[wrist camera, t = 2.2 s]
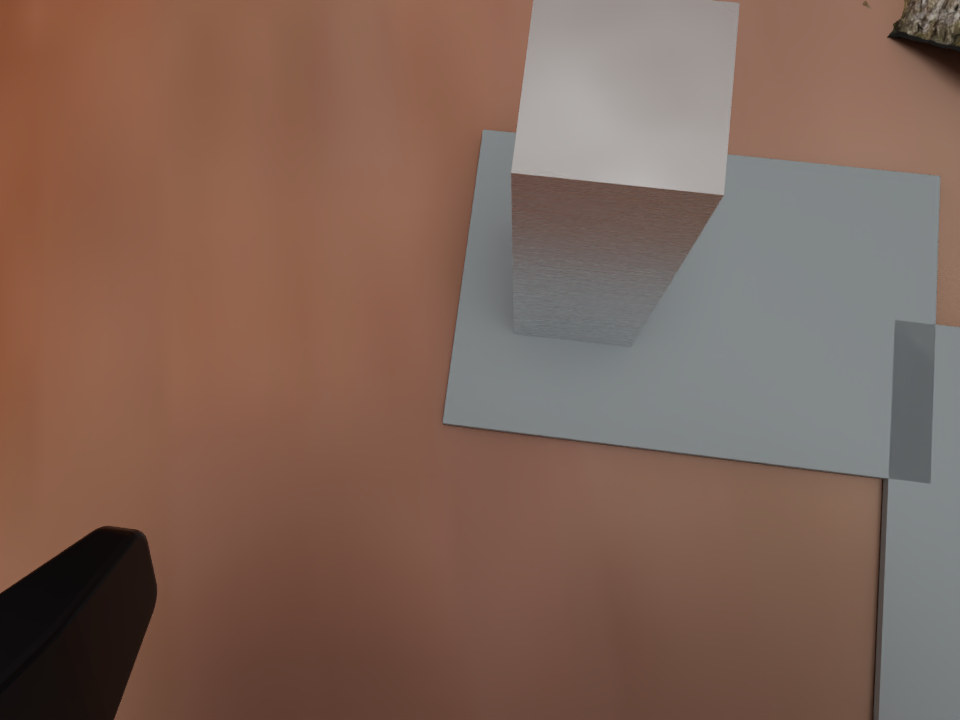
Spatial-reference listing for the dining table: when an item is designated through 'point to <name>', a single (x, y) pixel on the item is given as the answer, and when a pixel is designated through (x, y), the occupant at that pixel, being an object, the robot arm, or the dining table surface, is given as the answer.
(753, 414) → the pull board
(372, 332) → the dining table surface
